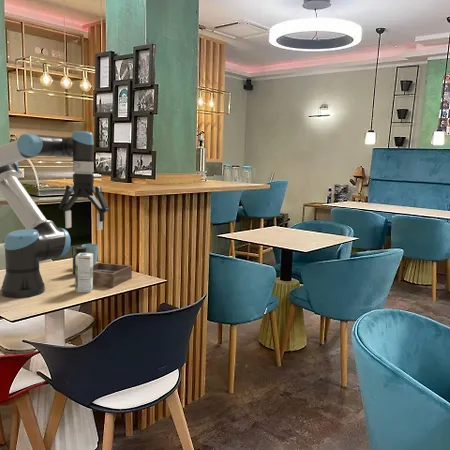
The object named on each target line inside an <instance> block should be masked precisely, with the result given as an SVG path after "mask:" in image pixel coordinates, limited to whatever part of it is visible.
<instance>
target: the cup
mask: <svg viewBox="0 0 450 450" xmlns="http://www.w3.org/2000/svg"><path fill="white" fill-rule="evenodd" d="M81 247H86V251H87V252H86V253H92V254H93V265H94V264H97V263H98V251H99V244H97V243H96V244H95V243H84V244H82V245H81Z"/></svg>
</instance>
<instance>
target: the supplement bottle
mask: <svg viewBox="0 0 450 450" xmlns="http://www.w3.org/2000/svg"><path fill="white" fill-rule="evenodd" d="M74 252H75V253H74V254H73V255H72V274H73V275H74V276H75V257H76V256H77V255H78V254H79V253H86V252H87V251H86V247H82V246H77V247H75V248H74Z"/></svg>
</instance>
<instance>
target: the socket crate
mask: <svg viewBox="0 0 450 450" xmlns="http://www.w3.org/2000/svg"><path fill="white" fill-rule="evenodd" d="M132 270H133V267H132V265H129V264H128V265H125V264H118V263H117V264H116V263H107V262H97V263H96V264H94V265H93V286H97V287H98V286H99V287H105V288H115V287H117V286H119V285H121V284H122V283H123V284H124V283H125V282H127V281H128V280H129V281H130V280H131V279H132V278H133V277H132V276H133V273H132Z"/></svg>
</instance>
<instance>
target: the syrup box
mask: <svg viewBox="0 0 450 450" xmlns="http://www.w3.org/2000/svg"><path fill="white" fill-rule="evenodd" d="M74 277H75V278H74V279H75V281H74V282H75V283H74V284H75V286H74V289H75V291H74V292H75V293H91V292H92V290H93V289H94V285H93V254H92V253H79V254H78V255H77V256H76V257H75V275H74Z"/></svg>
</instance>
